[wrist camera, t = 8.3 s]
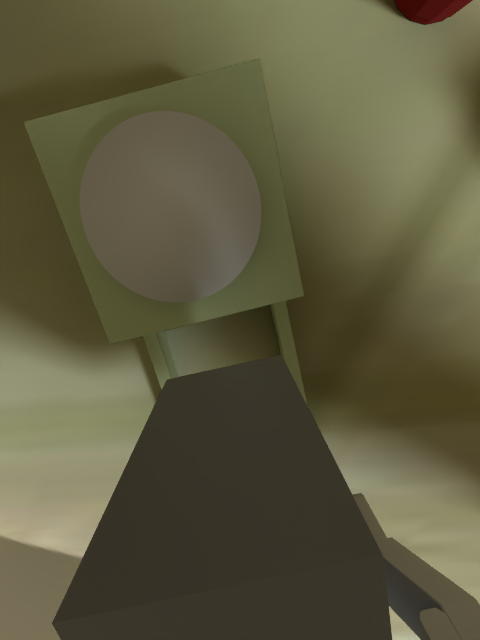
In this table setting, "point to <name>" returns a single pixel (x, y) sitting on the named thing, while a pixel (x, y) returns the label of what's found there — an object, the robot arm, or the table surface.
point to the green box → (175, 207)
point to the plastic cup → (429, 9)
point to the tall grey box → (230, 525)
